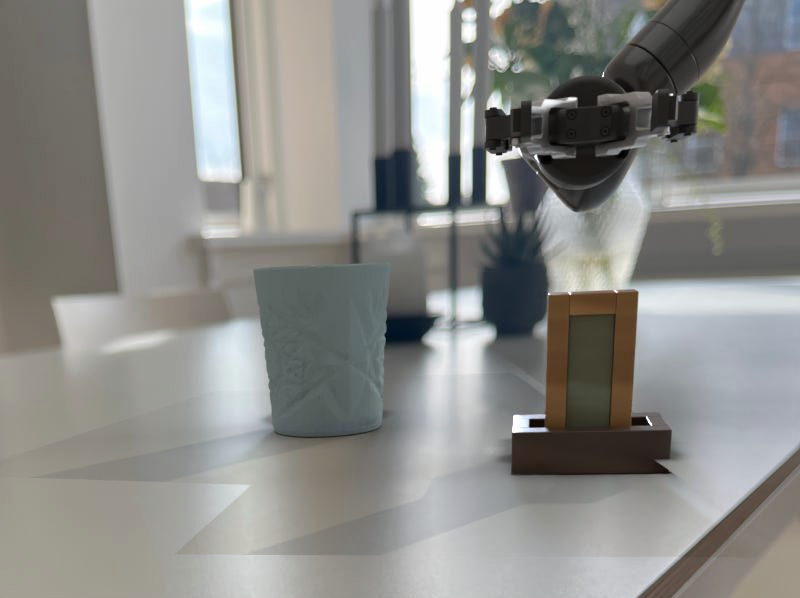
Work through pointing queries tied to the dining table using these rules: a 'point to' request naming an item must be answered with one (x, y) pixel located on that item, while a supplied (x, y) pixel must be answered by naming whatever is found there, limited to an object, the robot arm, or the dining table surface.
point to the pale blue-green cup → (324, 346)
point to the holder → (590, 446)
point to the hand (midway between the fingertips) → (593, 113)
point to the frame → (590, 358)
